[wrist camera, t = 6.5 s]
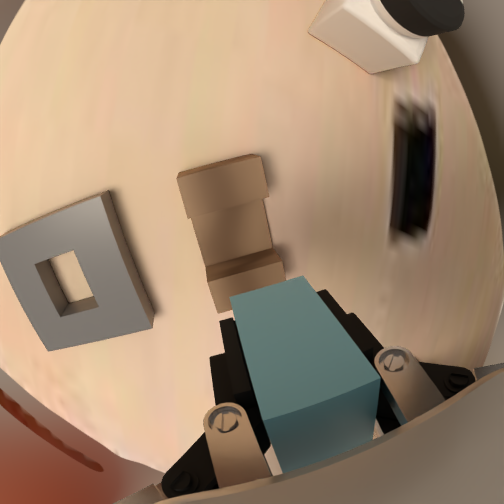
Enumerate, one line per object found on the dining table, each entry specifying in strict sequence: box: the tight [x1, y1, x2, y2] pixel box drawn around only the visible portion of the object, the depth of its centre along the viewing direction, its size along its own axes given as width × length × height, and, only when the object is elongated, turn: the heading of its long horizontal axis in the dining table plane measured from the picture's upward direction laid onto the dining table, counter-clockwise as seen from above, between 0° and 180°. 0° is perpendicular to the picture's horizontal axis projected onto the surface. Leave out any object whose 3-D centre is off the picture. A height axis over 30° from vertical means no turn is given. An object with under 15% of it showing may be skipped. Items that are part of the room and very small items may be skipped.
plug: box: [229, 276, 381, 473], centre depth 10 cm, size 3×4×6 cm
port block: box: [0, 190, 155, 351], centre depth 23 cm, size 12×12×2 cm
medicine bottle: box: [308, 0, 464, 74], centre depth 15 cm, size 7×7×12 cm
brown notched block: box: [177, 154, 286, 313], centre depth 24 cm, size 6×11×4 cm, turn 12°
